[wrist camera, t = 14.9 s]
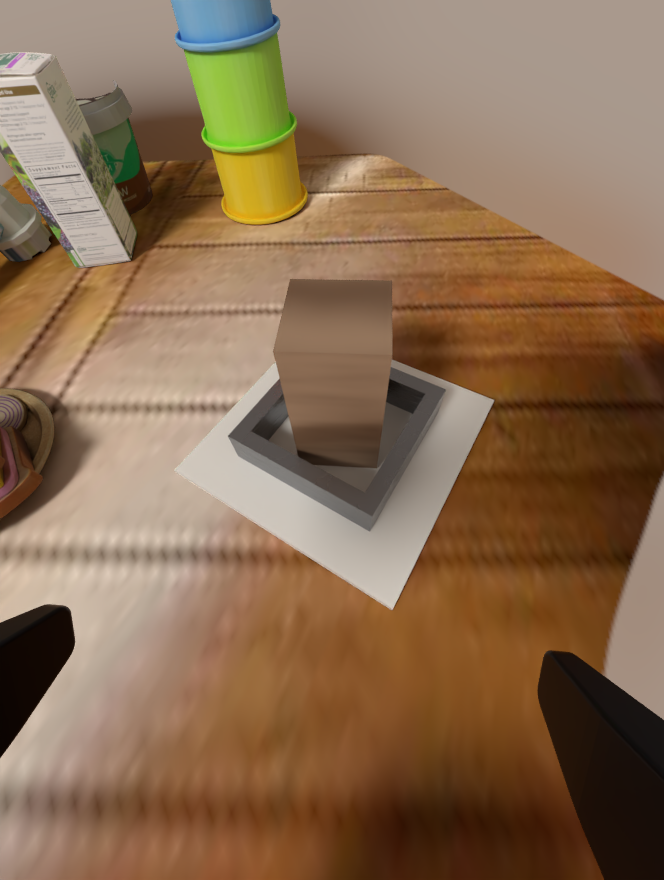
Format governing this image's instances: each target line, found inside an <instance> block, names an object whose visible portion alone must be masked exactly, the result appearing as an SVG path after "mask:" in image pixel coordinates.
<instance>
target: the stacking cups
mask: <svg viewBox="0 0 664 880" xmlns="http://www.w3.org/2000/svg"><path fill="white" fill-rule="evenodd" d="M171 3H172V7H173V10H174V14H175V17H176V21H177V24H178V28H179V31H178V32H177V33H176V35H175V41H176V43H177V45H178V46H179V47H181V48H182V49H184V52H185V56H186V59H187V63H188V67H189V70H190V74H191V77H192V80H193V84H194V87H195V91H196V94H197V98H198V101H199V105H200V108H201V111H202V115H203V118H204V122H205V127H204V128H203V130H202V138H203V141H204V142H205V144H206V145H207V146H209V147H210V148H211V149H212V153H213V156H214V160H215V163H216V167H217V170H218V174H219V177H220V181H221V184H222V188H223V192H224V196H223V199H222V209H223V212H224V213H225V214H226V216H227V217H229V218H230V219H232V220H234V221H236V222H239V223H243V224H250V225H262V224H270V223H274V222H278V221H281V220H284V219H287V218H289V217H291V216H292V215H294V214H296V213H297V212H298V211H300V210H301V209H302V207H303V206H304V205H305V203H306V201H307V198H308V193H307V189H306V187H305V186H304V185H303V184H302V183H301V182H300V177H299V170H298V163H297V155H296V148H295V141H294V131H295V129H296V126H297V120H296V117H295V116H294V114H293V113H291V112H290V111H289V110H288V104H287V97H286V90H285V83H284V77H283V70H282V63H281V56H280V49H279V42H278V36H277V32H278V30H279V28H280V20H279V18H278V17H277V16H276V15H274V14H272V9H271V3H270V0H171Z"/></svg>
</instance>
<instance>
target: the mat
mask: <svg viewBox="0 0 664 880" xmlns="http://www.w3.org/2000/svg"><path fill="white" fill-rule="evenodd" d="M391 367H392V368H395V369H397V370H400V371H402V372H405V373H407V374H410V375H412V376H414V377H417V378H419V379H422V380H424V381H427V382H429V383H432V384H434V385H437V386H439V387H442V388H444V389H446V392H445V394H444V397H443V400H442V403H441V406H440V409H439V412H438V414H437V416H436V417H435V419H434V421H433V423H432V424H431V426H430V428H429V430H428V431H427V433H426V435H425V437H424V438H423V440H422V442H421V443H420V445H419V447H418V449H417V450H416V452H415V454H414V456H413V457H412V459H411V461H410V463H409V464H408V466H407V468H406V470H405V471H404V473H403V475H402V477H401V478H400V480H399V482H398V484H397V485H396V487H395V489H394V491H393V492H392V494H391V496H390V498H389V499H388V501H387V503H386V505H385V506H384V508H383V510H382V512H381V513H380V515H379V517H378V519H377V520H376V522H375V524H374V526H373V527H372V529H371V531H370V532H369V531H368V530H366V529H364V528H362V527H361V526H359V525H357V524H355V523H354V522H352V521H350V520H348V519H347V518H345V517H343V516H341V515H340V514H338V513H336V512H334V511H333V510H331V509H329V508H327V507H326V506H324V505H322V504H321V503H319V502H317V501H315V500H314V499H312V498H310V497H308V496H307V495H305V494H303V493H301V492H300V491H298V490H296V489H294V488H293V487H291V486H289V485H287V484H286V483H284V482H282V481H280V480H279V479H277V478H275V477H273V476H272V475H270V474H268V473H266V472H265V471H263V470H261V469H260V468H258V467H256V466H254V465H253V464H251V463H249V462H247V461H246V460H244V459H242V458H240V457H239V456H238V455H237V453H236V451H235V449H234V447H233V445H232V443H231V441H230V440H229V438H228V435H229V434H230V433H231V432H232V431H233V430H234V428H235V427H236V426H237V425H238V424H239V423H240V422H241V421H242V420H243V418H244V417H245V416H246V415H247V414H248V413H249V412H250V411H251V410H252V408H253V407H254V406H255V405H256V404H257V403H258V402H259V401H260V399H261V398H262V397H263V396H264V395H265V394H266V393H267V392H268V391H269V389H270V388H271V387H272V386H273V385H274V384H275V383H276V382H277V381H278V379H279V374H278V369H277V365H276V362H275V363H274V364H273V365H272V366H271V367H270V368H269V369H268V370H267V371H266V372H265V374H264V375H263V376H262V377H261V378H260V379H259V380H258V381H257V382H256V383H255V384H254V385H253V386H252V387H251V389H250V390H249V391H248V392H247V393H246V394H245V395H244V396H243V397H242V398H241V399H240V400H239V401H238V402H237V404H236V405H235V406H234V407H233V408H232V409H231V410H230V411H229V412H228V413H227V414H226V415H225V416H224V417H223V419H222V420H221V421H220V422H219V423H218V424H217V425H216V426H215V427H214V428H213V429H212V430H211V431H210V432H209V433H208V435H207V436H206V437H205V438H204V439H203V440H202V441H201V442H200V443H199V444H198V445H197V446H196V447H195V448H194V450H193V451H192V452H191V453H190V454H189V455H188V456H187V457H186V458H185V459H184V460H183V461H182V462H181V463H180V465H179V466H178V467H177V468H176V469H175V470H174V471H175V472H176V473H177V474H178V475H180V476H181V477H183V478H185V479H186V480H188V481H189V482H191V483H192V484H194V485H196V486H197V487H199V488H200V489H202V490H203V491H205V492H207V493H208V494H210V495H211V496H213V497H214V498H216V499H218V500H219V501H221V502H222V503H224V504H225V505H227V506H229V507H230V508H232V509H233V510H235V511H236V512H238V513H240V514H241V515H243V516H244V517H246V518H247V519H249V520H251V521H252V522H254V523H255V524H257V525H258V526H260V527H262V528H263V529H265V530H266V531H268V532H269V533H271V534H273V535H274V536H276V537H277V538H279V539H280V540H282V541H284V542H285V543H287V544H288V545H290V546H291V547H293V548H295V549H296V550H298V551H299V552H301V553H303V554H304V555H306V556H307V557H309V558H310V559H312V560H314V561H315V562H317V563H318V564H320V565H321V566H323V567H325V568H326V569H328V570H329V571H331V572H332V573H334V574H336V575H337V576H339V577H340V578H342V579H343V580H345V581H347V582H348V583H350V584H351V585H353V586H354V587H356V588H358V589H359V590H361V591H362V592H364V593H365V594H367V595H369V596H370V597H372V598H373V599H375V600H376V601H378V602H380V603H381V604H383V605H384V606H386V607H387V608H389V609H391V610H393V608H394V606H395V604H396V602H397V600H398V598H399V596H400V594H401V591H402V589H403V587H404V585H405V583H406V581H407V579H408V577H409V575H410V573H411V571H412V569H413V567H414V565H415V563H416V561H417V559H418V556H419V554H420V552H421V550H422V548H423V546H424V544H425V542H426V540H427V538H428V536H429V534H430V532H431V530H432V528H433V526H434V524H435V521H436V519H437V517H438V515H439V513H440V511H441V509H442V507H443V505H444V503H445V501H446V499H447V497H448V495H449V493H450V491H451V489H452V487H453V484H454V482H455V480H456V478H457V476H458V474H459V472H460V470H461V468H462V466H463V464H464V462H465V460H466V458H467V456H468V454H469V452H470V449H471V447H472V445H473V443H474V441H475V439H476V437H477V435H478V433H479V431H480V429H481V427H482V425H483V423H484V421H485V419H486V417H487V414H488V412H489V410H490V408H491V406H492V404H493V402H494V400H493V399H490V398H488V397H485V396H483V395H480V394H478V393H475V392H473V391H470V390H468V389H465V388H463V387H460V386H458V385H455V384H452V383H450V382H447V381H445V380H442V379H440V378H437V377H435V376H432V375H430V374H427V373H425V372H422V371H420V370H417V369H415V368H412V367H410V366H407V365H405V364H402V363H400V362H397V361H395V360H392V362H391ZM412 415H413V414H412V413H410V412H407V411H405V410H403V409H401V408H398V407H396V406H394V405H391V404H389V403H387V402H386V405H385V413H384V420H383V427H382V434H381V442H380V449H379V456H378V463H377V468H360V467H342V466H324V465H314V466H316V467H318V468H320V469H322V470H324V471H326V472H327V473H329V474H331V475H333V476H335V477H337V478H339V479H340V480H342V481H344V482H346V483H348V484H350V485H352V486H353V487H355V488H357V489H359V490H361V491H363V492H365V491H366V490H367V488H368V487H369V485H370V483H371V482H372V480H373V478H374V477H375V475H376V474H377V472H378V470H379V469H380V467H381V465H382V464H383V462H384V461H385V459H386V457H387V456H388V454H389V452H390V451H391V449H392V448H393V446H394V444H395V443H396V441H397V439H398V438H399V436H400V434H401V433H402V431H403V430H404V428H405V426H406V425H407V423H408V421H409V420H410V418H411V417H412ZM268 441H270V442H272V443H274V444H275V445H277V446H279V447H281V448H283V449H285V450H287V451H288V452H290V453H292V454H294V455H296V456H298V453H297V449H296V445H295V441H294V436H293V432H292V428H291V424H290V420H289V416H288V417H287V419H286V420H285V421H284V422H283V423H282V425H281V426H280V427H279V428H278V429H277V431H276V432H275V433H274V434H273V436H272V437H271V438H270V439H269V440H268Z"/></svg>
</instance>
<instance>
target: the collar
mask: <svg viewBox="0 0 664 880" xmlns="http://www.w3.org/2000/svg"><path fill="white" fill-rule="evenodd" d="M445 392H446V389H444V388H442V387H439V386H437V385H434V384H432V383H429V382H427V381H424V380H422V379H419V378H417V377H414V376H412V375H410V374H407V373H405V372H402V371H400V370H397V369H395V368H392V367H391V369H390V376H389V384H388V391H387V398H386V402H387V403H389V404H391V405H394V406H396V407H398V408H401V409H403V410H405V411H407V412H410V413H412V414H413V415H412V417H411V418H410V420H409V421H408V423H407V425H406V426H405V428H404V430H403V431H402V433H401V434H400V436H399V438H398V439H397V441H396V443H395V444H394V446H393V448H392V449H391V451H390V452H389V454H388V456H387V457H386V459H385V461H384V462H383V464H382V465H381V467H380V469H379V470H378V472H377V474H376V475H375V477H374V478H373V480H372V482H371V483H370V485H369V487H368V488H367V490H366V491H365V492H363V491H361V490H359V489H357V488H355V487H353V486H352V485H350V484H348V483H346V482H344V481H342V480H340V479H339V478H337V477H335V476H333V475H331V474H329V473H327V472H326V471H324V470H322V469H320V468H318V467H316V466H314V465H313V464H311V463H309V462H307V461H305V460H303V459H301V458H300V457H298V456H296V455H294V454H292V453H290V452H288V451H287V450H285V449H283V448H281V447H279V446H277V445H275V444H274V443H272V442H270V441H268V440H269V439H270V438H271V437H272V436H273V434H274V433H275V432H276V431H277V429H278V428H279V427H280V426H281V425H282V423H283V422H284V421H285V420H286V419H287V417H288V416H289V415H288V411H287V407H286V403H285V399H284V395H283V390H282V386H281V382H280V378H279V379H278V381H277V382H276V383H275V384H274V385H273V386H272V387H271V388H270V389H269V391H268V392H267V393H266V394H265V395H264V396H263V397H262V398H261V399H260V401H259V402H258V403H257V404H256V405H255V406H254V407H253V408H252V410H251V411H250V412H249V413H248V414H247V415H246V416H245V417H244V418H243V420H242V421H241V422H240V423H239V424H238V425H237V426H236V427H235V428H234V430H233V431H232V432H231V433H230V434H229V435H228V438H229V440H230V441H231V443H232V445H233V447H234V449H235V451H236V453H237V455H238V456H239V457H240V458H242V459H244V460H246V461H247V462H249V463H251V464H253V465H254V466H256V467H258V468H260V469H261V470H263V471H265V472H266V473H268V474H270V475H272V476H273V477H275V478H277V479H279V480H280V481H282V482H284V483H286V484H287V485H289V486H291V487H293V488H294V489H296V490H298V491H300V492H301V493H303V494H305V495H307V496H308V497H310V498H312V499H314V500H315V501H317V502H319V503H321V504H322V505H324V506H326V507H327V508H329V509H331V510H333V511H334V512H336V513H338V514H340V515H341V516H343V517H345V518H347V519H348V520H350V521H352V522H354V523H355V524H357V525H359V526H361V527H362V528H364V529H366V530H368V531H369V532H370V531H371V529H372V527H373V526H374V524H375V522H376V520H377V519H378V517H379V515H380V513H381V512H382V510H383V508H384V506H385V505H386V503H387V501H388V499H389V498H390V496H391V494H392V492H393V491H394V489H395V487H396V485H397V484H398V482H399V480H400V478H401V477H402V475H403V473H404V471H405V470H406V468H407V466H408V464H409V463H410V461H411V459H412V457H413V456H414V454H415V452H416V450H417V449H418V447H419V445H420V443H421V442H422V440H423V438H424V437H425V435H426V433H427V431H428V430H429V428H430V426H431V424H432V423H433V421H434V419H435V417H436V416H437V414H438V412H439V409H440V406H441V403H442V400H443V397H444V394H445Z"/></svg>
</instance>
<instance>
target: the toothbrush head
mask: <svg viewBox="0 0 664 880" xmlns="http://www.w3.org/2000/svg"><path fill="white" fill-rule="evenodd" d="M50 236H52V234H51V233H50V232H49V231H48V230H47V228H46V227H45V226H44V225H43V224H42V222H41V215H40V214H39V213H38V212H37V210H36V209H35V208H34V207H33V206H32V205H31V204H20V203H19V202H18V201H17V200H16V199H15V198H14V197H13V196H12V195H11V194H10V193H9V192H8V191H7V190H6V189H5V188H4V187H3V186H1V185H0V252H1V253H2V254H3V255H4V256H5V257H6V258H7V259H8V260H9V261H16V262H21V261H25V260H29V259H32V256H33V255H35V254H36V253H38V252H39V251H40V252H45V251H46V249H47V248H48V247H49V245H50V244H51V243H50V242H49V237H50Z"/></svg>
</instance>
